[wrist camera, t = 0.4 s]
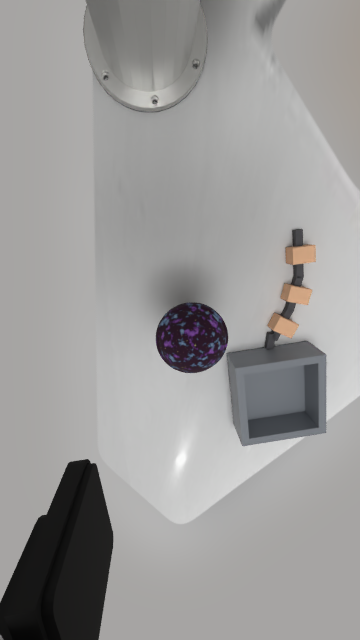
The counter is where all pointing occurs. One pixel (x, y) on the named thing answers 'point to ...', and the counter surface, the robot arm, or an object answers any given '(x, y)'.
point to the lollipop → (191, 337)
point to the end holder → (278, 392)
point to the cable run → (292, 289)
